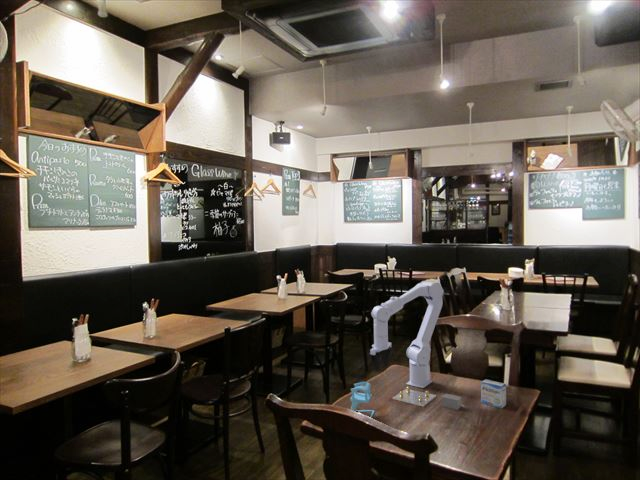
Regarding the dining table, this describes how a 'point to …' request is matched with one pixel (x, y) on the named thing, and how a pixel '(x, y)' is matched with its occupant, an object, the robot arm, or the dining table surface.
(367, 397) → the chair
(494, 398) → the medicine box
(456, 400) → the plain grey block
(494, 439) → the dining table surface
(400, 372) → the dining table surface
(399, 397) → the plate with brass knobs
